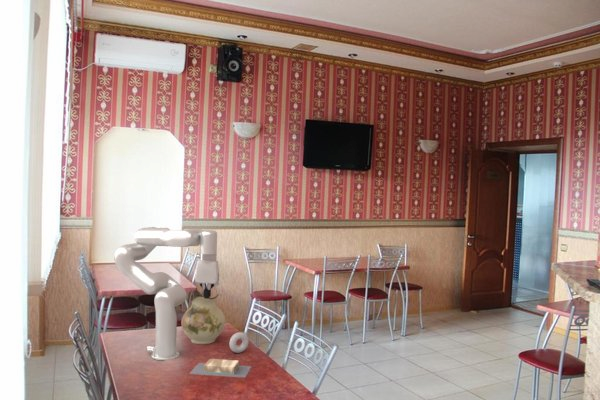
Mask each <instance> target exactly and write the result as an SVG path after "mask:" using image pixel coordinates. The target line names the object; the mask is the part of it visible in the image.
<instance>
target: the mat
mask: <svg viewBox="0 0 600 400" xmlns="http://www.w3.org/2000/svg"><path fill="white" fill-rule="evenodd" d="M206 363H207V362H198V363H197V364H196V365H195V366H194V367H193V369H191V371H189V375H200V376H201V375H203V376H214V377H215V376H216V377H231V378H233V377H234V378H244V379H246V378H247V376H248V374H249V373H250V371H251V369H252V367H253V366H251V365H240V364H239V367H238V369H237V371H236V372H235V374H234V375H233V374H218V373H204V365H205V364H206Z"/></svg>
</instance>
